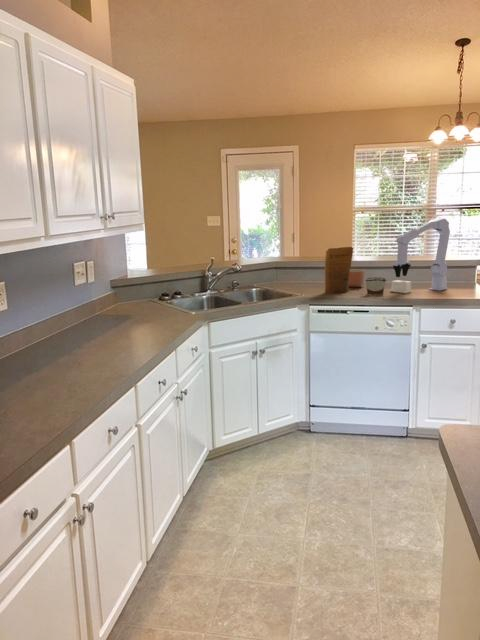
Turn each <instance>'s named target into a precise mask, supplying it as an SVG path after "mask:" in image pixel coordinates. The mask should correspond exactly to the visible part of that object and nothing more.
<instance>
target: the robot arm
mask: <svg viewBox="0 0 480 640" xmlns="http://www.w3.org/2000/svg"><path fill="white" fill-rule="evenodd" d="M449 224H450V223H449V221H448V220H447V219H446V218H432V219H431V220H429V221H427V222H425V223H424V224H422V225H420V226H419V227H417V228H416V227H413V228H409V229H410V230H408V231H406V232H404V233H403V234H402V233H401V234H398V236H397V238H396V239H395V241H396V243H397V258H396V261H395V262H393V265H392V269H394V273H395V278H400V277H401V274H402V276H403V277H406V276H407V275H408V271H409V269H410V268H411V264H410V263H411V261H410V260H408V248H409V247H408V245H409V244H410V242H411V241H414V240H415V239H416V238H418V237H419V236H420V234H422V233H425V232H426V231H428V230H430V229H433V230H435V231H436V232H438V234H439V236H438V237H439V238H438V242H437V243H438V244H437V249H436V256H435V260H434V261H433V262H432V264H431V266H430V270H429V271H430V272H431V287H429V288H428V290H432V291H439V292H440V291H443V290H448V288H447V281H448V280H447V276H446V274H447V273H448V263H447V262H446V257H447V250H448V247H449V246H448V245H449V239H450V233H451V230H450V226H449Z"/></svg>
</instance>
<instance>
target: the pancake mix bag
mask: <svg viewBox="0 0 480 640" xmlns="http://www.w3.org/2000/svg"><path fill="white" fill-rule="evenodd" d="M353 253H354V247H352V246H345V247H342V246H341V247H334V248H331V247H330V248H328V249H327V250H326V251H325V259H324V294H339V293H348V292H349V291H350V289H349V288H350V287H349V286H348V282H349V272H350V269H351V266H352V261H353V260H352V259H353Z"/></svg>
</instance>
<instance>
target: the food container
mask: <svg viewBox="0 0 480 640" xmlns="http://www.w3.org/2000/svg"><path fill="white" fill-rule="evenodd" d="M365 282H366V295H367V296H384V292H385V285H386V284H385V283H387V279H386V277H381V276H380V277H379V276H377V277H376V276H370V277H366V278H365V279H364V283H365Z"/></svg>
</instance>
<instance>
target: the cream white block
mask: <svg viewBox="0 0 480 640" xmlns="http://www.w3.org/2000/svg"><path fill="white" fill-rule="evenodd" d="M390 291H391V292H393V293H402V294H408V293H411V291H412V281H410V280H409V281H408V280H399V279H396V280H391V289H390Z"/></svg>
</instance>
